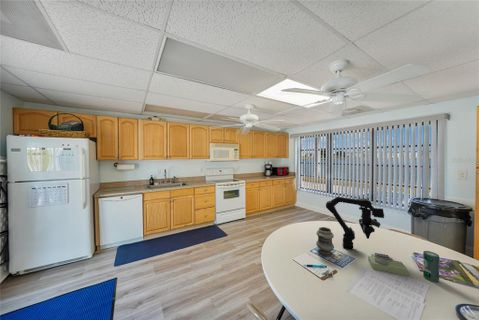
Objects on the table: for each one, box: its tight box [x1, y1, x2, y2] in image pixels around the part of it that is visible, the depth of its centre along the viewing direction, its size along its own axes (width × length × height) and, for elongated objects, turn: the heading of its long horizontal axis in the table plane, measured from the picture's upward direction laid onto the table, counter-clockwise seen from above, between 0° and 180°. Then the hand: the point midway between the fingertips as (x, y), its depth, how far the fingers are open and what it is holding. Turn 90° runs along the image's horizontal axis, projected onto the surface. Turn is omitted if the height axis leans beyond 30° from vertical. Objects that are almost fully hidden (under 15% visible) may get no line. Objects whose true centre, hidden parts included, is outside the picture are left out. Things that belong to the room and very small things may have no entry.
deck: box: [367, 254, 409, 277], centre depth 114 cm, size 18×14×4 cm
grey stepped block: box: [374, 252, 391, 259], centre depth 119 cm, size 7×5×4 cm
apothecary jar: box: [316, 226, 335, 257], centre depth 130 cm, size 12×12×18 cm
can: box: [422, 250, 440, 283], centre depth 101 cm, size 6×6×15 cm
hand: (366, 236), depth 130 cm, fingers open, 9 cm apart
